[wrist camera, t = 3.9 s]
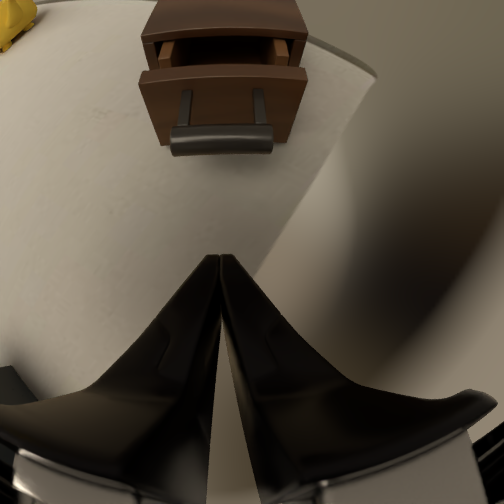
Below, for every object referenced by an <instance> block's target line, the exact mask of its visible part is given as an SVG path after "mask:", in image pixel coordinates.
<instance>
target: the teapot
mask: <svg viewBox="0 0 504 504" xmlns="http://www.w3.org/2000/svg"><path fill="white" fill-rule="evenodd" d="M36 13H37V6H36V5H35V3H34V2H33V1H32V0H2V1H1V2H0V49H1V48H2V51H3V52H5V51H6V50H7V49H8V48H9V47H10V46H11V45H12V42H11V39H12V38H14V37H15V36H16V35H17V34H18V33H19V32H20V31H21V30H23V31H27V30H28V29H30V28H31V27H32V26H33V25H34V23H31V21H32V20H33V19H34V18H35V17H36Z"/></svg>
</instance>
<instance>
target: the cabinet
mask: <svg viewBox="0 0 504 504" xmlns="http://www.w3.org/2000/svg"><path fill="white" fill-rule="evenodd" d="M208 36H260V37H276V38H285V41H286V45H287V49H288V53H289V60H288V64H287V66H291V67H299V64H300V61H301V57H302V54H303V51H304V47H305V44H306V40H307V36H308V30H307V28H306V25H305V23H304V20H303V18H302V15H301V13H300V10H299V8H298V6H297V3H296V1H295V0H158V2H157V4H156V6H155V8H154V10H153V11H152V13H151V15H150V17H149V19H148V21H147V23H146V25H145V28H144V30H143V32H142V34H141V40H142V43H143V48H144V51H145V55H146V59H147V62H148V66H149V70H156V69H160V65H159V61H158V58H159V55H160V51H161V48H162V45H163V42H164V41H165V40H173V39H182V38H193V37H208Z"/></svg>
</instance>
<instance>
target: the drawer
mask: <svg viewBox="0 0 504 504" xmlns="http://www.w3.org/2000/svg"><path fill="white" fill-rule="evenodd" d="M288 60H289V53H288V49H287V45H286V41H285V38H276V37H260V36H208V37H193V38H182V39H173V40H165V41H164V42H163V45H162V48H161V51H160V55H159V58H158V61H159V65H160V69H156V70H149V71H143V72H142V74H141V77H140V80H139V83H138V85H139V88H140V91H141V94H142V96H143V99H144V102H145V105H146V107H147V110H148V113H149V116H150V118H151V121H152V124H153V126H154V129H155V132H156V134H157V137H158V139H159V142H160V145H161V146H166V145H170V149H171V153H172V156H174V157H177V156H193V155H217V154H271V153H272V150H273V142H277V143H287V140H288V137H289V134H290V131H291V128H292V125H293V122H294V119H295V117H296V114H297V111H298V108H299V105H300V102H301V99H302V96H303V93H304V90H305V88H306V85H307V82H308V79H307V75H306V71H305V68H301V67H291V66H287V64H288Z"/></svg>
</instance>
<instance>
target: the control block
mask: <svg viewBox="0 0 504 504" xmlns="http://www.w3.org/2000/svg"><path fill="white" fill-rule="evenodd" d="M37 401H38V400H37V399H36V397H35V396H34V395H33V394H32V392H31V391H30V390H29V389H28V388H27V386H26V385H25V384H24V382H23V381H22V380H21V378H20V377H19V376H18V374H17V373H16V372H15V370H14V369H13V367H12V366H11V365H10V366H5V367H0V404H3V405H22V404H27V403H32V402H37ZM14 456H15V452H13V451H12V450H10V449H9V448H7V447H5V446H4V445H2V444H1V443H0V459H1V460H3V461H5V462H6V463H8V464H10V465H12V466H13V461H14Z"/></svg>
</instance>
